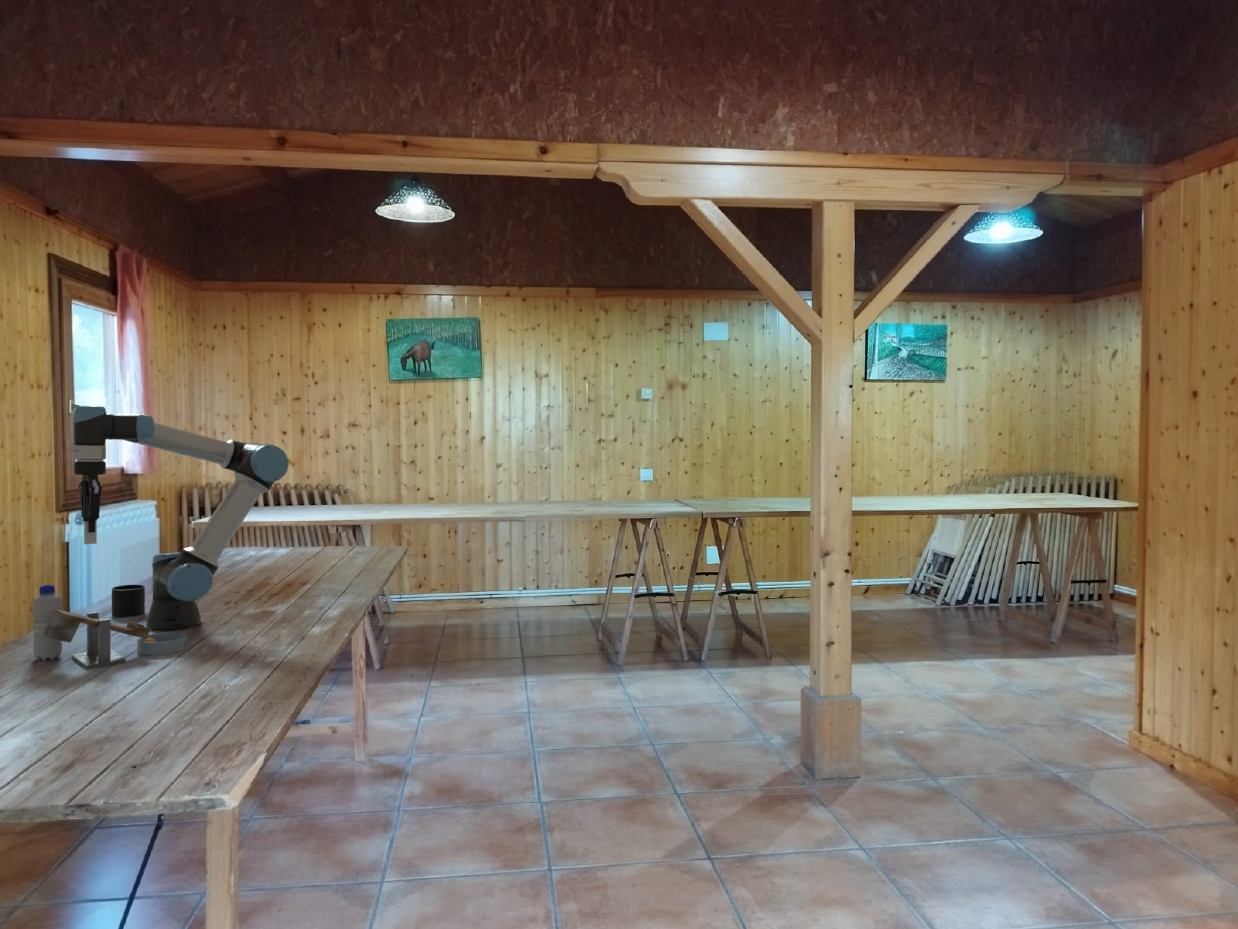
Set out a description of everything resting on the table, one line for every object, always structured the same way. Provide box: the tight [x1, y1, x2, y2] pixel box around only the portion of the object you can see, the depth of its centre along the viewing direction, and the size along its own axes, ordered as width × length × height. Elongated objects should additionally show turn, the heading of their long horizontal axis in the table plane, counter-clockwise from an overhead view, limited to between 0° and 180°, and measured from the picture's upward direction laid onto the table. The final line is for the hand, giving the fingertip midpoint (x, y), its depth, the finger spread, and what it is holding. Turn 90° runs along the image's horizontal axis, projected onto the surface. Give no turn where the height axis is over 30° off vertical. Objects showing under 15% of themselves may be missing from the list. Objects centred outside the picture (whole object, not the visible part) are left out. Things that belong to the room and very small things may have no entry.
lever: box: [44, 609, 152, 643], centre depth 217 cm, size 22×8×8 cm, turn 138°
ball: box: [144, 638, 156, 642], centre depth 226 cm, size 3×3×3 cm
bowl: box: [136, 631, 186, 656], centre depth 229 cm, size 11×11×4 cm
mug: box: [111, 584, 146, 618], centre depth 271 cm, size 9×12×9 cm
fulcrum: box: [71, 611, 127, 670], centre depth 217 cm, size 9×14×12 cm, turn 47°
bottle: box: [31, 584, 63, 662], centre depth 217 cm, size 7×7×20 cm
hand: (90, 543), depth 229 cm, fingers closed
